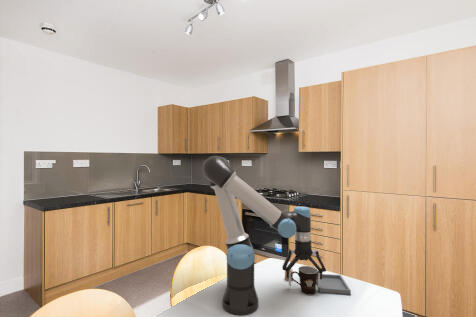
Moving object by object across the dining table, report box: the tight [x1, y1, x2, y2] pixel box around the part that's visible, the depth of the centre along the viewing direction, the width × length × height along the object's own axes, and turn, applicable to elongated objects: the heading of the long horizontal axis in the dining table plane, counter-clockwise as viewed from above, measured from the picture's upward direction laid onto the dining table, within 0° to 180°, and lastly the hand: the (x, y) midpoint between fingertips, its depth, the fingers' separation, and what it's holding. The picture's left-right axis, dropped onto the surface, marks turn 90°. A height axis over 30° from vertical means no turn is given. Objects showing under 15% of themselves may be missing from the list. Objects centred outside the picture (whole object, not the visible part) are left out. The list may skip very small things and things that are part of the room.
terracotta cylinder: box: [284, 268, 294, 282], centre depth 127 cm, size 4×4×5 cm
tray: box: [316, 273, 352, 296], centre depth 120 cm, size 14×16×2 cm
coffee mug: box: [291, 265, 318, 296], centre depth 116 cm, size 12×9×10 cm
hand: (304, 285), depth 116 cm, fingers open, 13 cm apart
